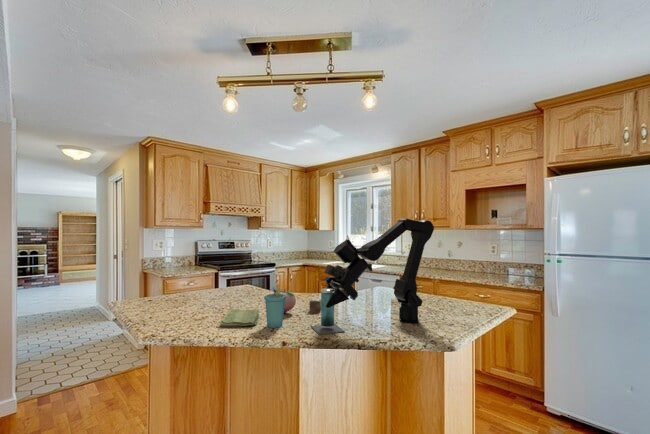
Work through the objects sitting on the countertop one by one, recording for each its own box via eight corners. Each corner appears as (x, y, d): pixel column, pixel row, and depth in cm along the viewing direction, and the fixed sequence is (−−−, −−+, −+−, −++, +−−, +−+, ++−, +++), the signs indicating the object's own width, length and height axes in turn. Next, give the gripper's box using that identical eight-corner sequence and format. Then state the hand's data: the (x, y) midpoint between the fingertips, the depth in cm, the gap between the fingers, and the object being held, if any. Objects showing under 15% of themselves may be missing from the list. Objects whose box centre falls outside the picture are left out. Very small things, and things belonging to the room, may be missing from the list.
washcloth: (218, 329, 113) (218, 320, 113) (228, 316, 131) (228, 308, 131) (256, 328, 115) (256, 319, 115) (261, 315, 132) (261, 307, 132)
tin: (333, 322, 115) (333, 288, 116) (335, 326, 110) (335, 290, 111) (319, 323, 114) (319, 288, 115) (321, 327, 110) (322, 291, 110)
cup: (285, 332, 109) (286, 287, 110) (262, 333, 108) (262, 287, 109) (285, 320, 123) (286, 280, 124) (264, 321, 122) (265, 281, 123)
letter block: (321, 309, 141) (321, 298, 141) (320, 312, 136) (320, 301, 136) (311, 309, 141) (311, 298, 141) (309, 312, 137) (309, 300, 137)
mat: (334, 324, 118) (334, 323, 118) (344, 332, 110) (344, 331, 110) (311, 327, 115) (311, 326, 115) (319, 335, 106) (319, 333, 107)
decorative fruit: (269, 314, 132) (269, 289, 132) (278, 310, 139) (278, 286, 140) (290, 316, 129) (290, 291, 129) (298, 311, 136) (298, 287, 137)
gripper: (329, 254, 123) (300, 285, 119) (349, 258, 106) (317, 295, 102) (347, 274, 126) (321, 305, 122) (370, 281, 108) (340, 318, 104)
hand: (324, 305), depth 112 cm, fingers open, 5 cm apart
